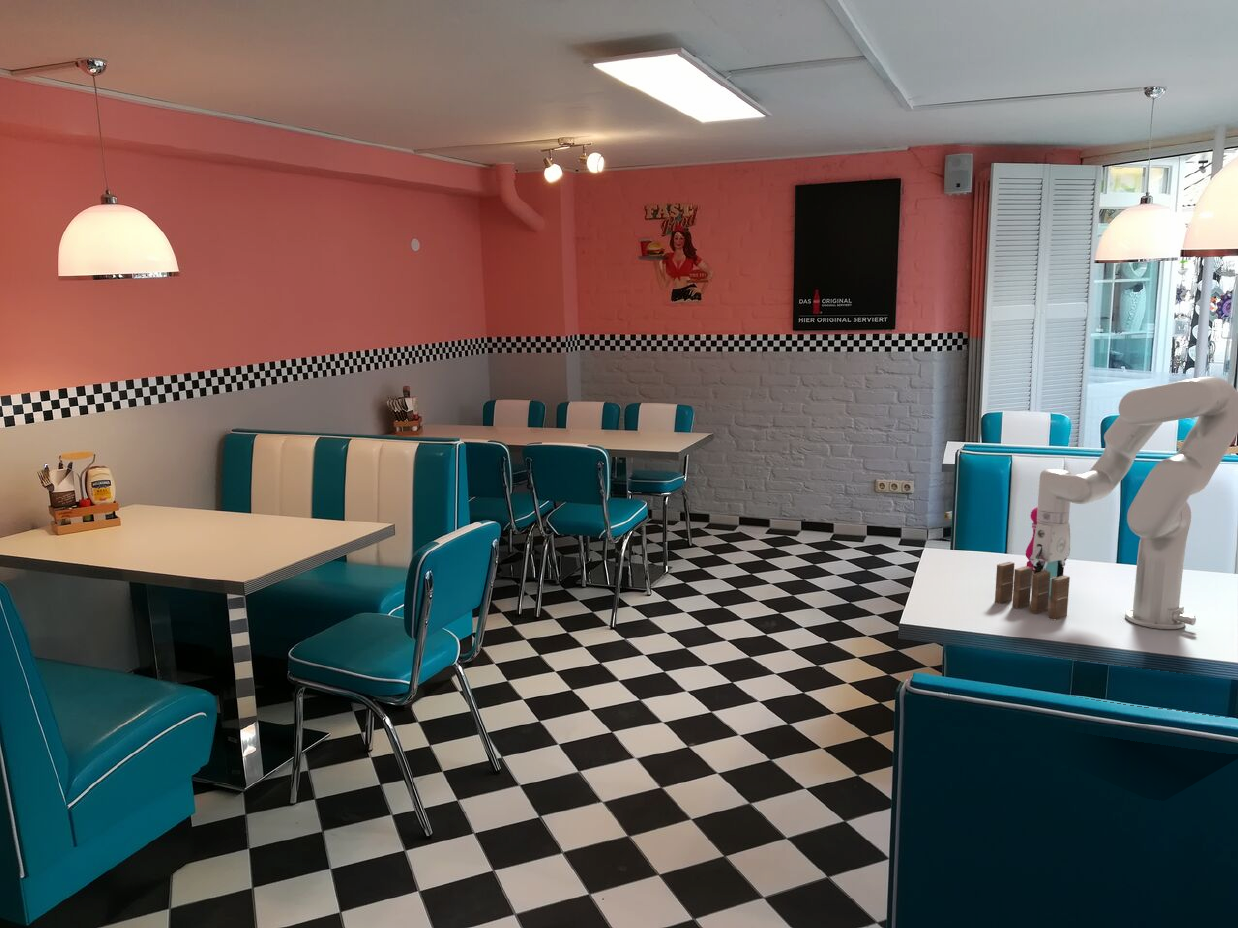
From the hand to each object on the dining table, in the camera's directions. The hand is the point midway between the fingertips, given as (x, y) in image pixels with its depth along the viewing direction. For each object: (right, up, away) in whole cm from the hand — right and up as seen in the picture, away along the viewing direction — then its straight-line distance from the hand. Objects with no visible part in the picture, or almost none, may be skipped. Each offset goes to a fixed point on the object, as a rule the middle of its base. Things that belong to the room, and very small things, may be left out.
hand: (1048, 582), depth 240 cm
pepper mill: (+9, 0, +25) cm, 27 cm away
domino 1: (-13, -4, -3) cm, 14 cm away
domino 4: (0, -4, +1) cm, 4 cm away
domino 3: (-8, -6, -11) cm, 15 cm away
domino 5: (-5, -7, -15) cm, 17 cm away
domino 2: (-10, -5, -7) cm, 14 cm away
